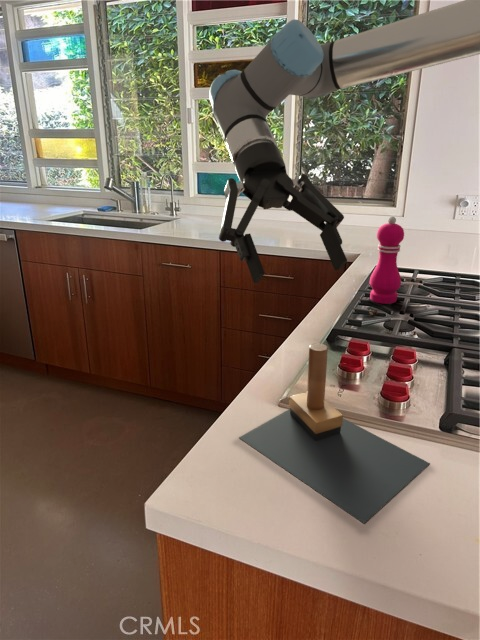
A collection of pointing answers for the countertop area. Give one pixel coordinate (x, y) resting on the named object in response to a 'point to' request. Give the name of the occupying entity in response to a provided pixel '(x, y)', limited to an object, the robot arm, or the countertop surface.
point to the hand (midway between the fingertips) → (301, 272)
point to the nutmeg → (374, 312)
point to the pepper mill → (387, 264)
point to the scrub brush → (316, 399)
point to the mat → (339, 463)
